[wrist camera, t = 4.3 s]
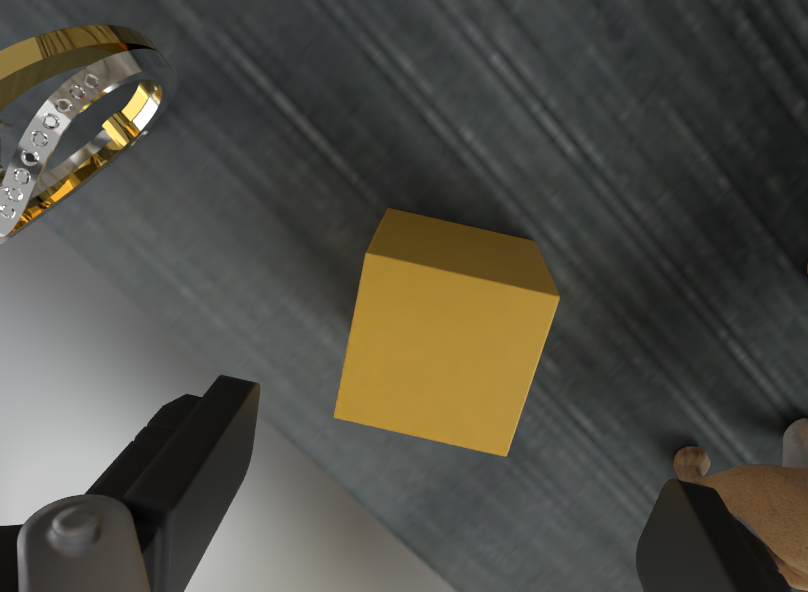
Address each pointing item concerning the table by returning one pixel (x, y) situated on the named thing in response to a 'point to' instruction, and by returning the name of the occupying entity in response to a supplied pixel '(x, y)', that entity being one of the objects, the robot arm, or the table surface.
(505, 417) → the block
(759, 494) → the lion figurine
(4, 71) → the ring
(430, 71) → the table surface
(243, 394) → the robot arm
